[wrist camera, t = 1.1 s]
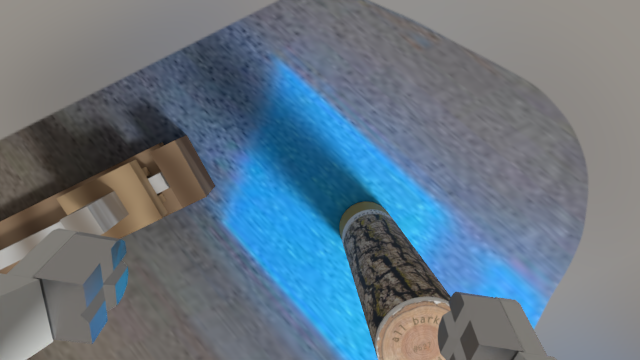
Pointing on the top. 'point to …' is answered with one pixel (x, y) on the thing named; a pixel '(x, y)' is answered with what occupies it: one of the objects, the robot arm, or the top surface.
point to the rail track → (161, 161)
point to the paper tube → (393, 285)
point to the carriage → (113, 203)
